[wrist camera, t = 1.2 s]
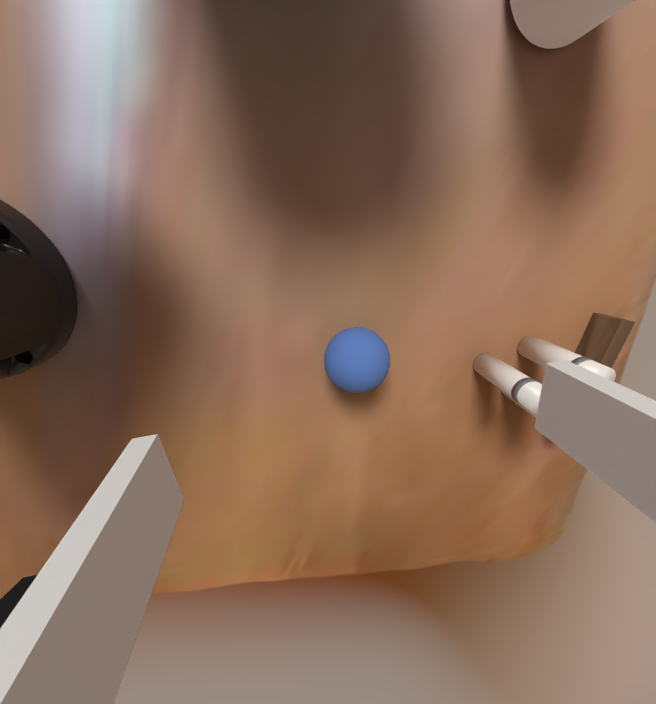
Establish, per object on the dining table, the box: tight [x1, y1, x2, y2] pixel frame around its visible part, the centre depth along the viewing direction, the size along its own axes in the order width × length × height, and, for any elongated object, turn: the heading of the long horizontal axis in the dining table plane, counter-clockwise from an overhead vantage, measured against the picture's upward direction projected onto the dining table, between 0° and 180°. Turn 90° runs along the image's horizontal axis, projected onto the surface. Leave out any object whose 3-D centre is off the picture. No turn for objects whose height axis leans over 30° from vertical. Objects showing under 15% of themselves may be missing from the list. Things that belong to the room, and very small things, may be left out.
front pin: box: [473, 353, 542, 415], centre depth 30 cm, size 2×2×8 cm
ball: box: [324, 327, 390, 393], centre depth 28 cm, size 6×6×6 cm
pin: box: [517, 336, 615, 382], centre depth 29 cm, size 2×2×8 cm
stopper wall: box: [575, 313, 635, 368], centre depth 34 cm, size 2×14×3 cm, turn 171°
